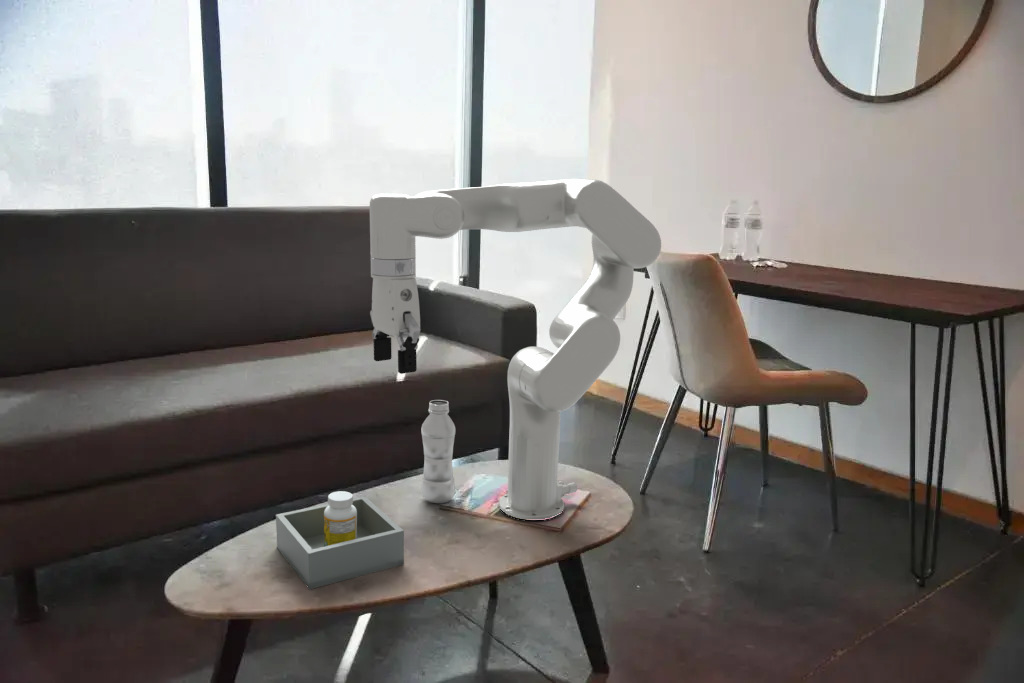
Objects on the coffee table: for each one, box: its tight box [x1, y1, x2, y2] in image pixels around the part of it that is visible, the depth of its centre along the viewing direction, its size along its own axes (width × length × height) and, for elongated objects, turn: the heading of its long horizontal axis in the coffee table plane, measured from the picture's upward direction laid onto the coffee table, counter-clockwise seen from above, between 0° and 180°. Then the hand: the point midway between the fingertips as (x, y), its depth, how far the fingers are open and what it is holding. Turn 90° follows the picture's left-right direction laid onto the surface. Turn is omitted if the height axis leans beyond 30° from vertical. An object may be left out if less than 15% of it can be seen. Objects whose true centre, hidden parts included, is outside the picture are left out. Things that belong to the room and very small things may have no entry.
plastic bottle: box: [420, 399, 456, 504], centre depth 157 cm, size 6×7×20 cm
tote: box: [275, 495, 405, 590], centre depth 135 cm, size 16×16×6 cm
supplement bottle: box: [324, 490, 357, 547], centre depth 134 cm, size 5×5×10 cm
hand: (394, 366), depth 141 cm, fingers open, 9 cm apart
